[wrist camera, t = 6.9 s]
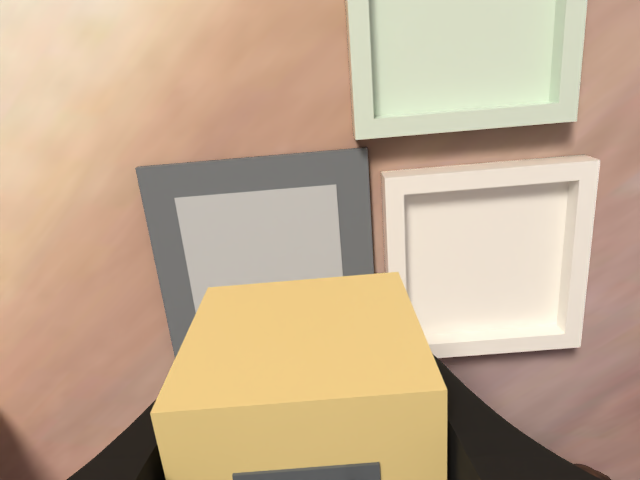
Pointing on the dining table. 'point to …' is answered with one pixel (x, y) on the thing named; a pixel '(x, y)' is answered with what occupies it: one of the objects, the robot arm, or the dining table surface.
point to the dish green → (462, 64)
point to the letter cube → (304, 386)
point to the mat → (255, 223)
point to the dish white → (493, 251)
